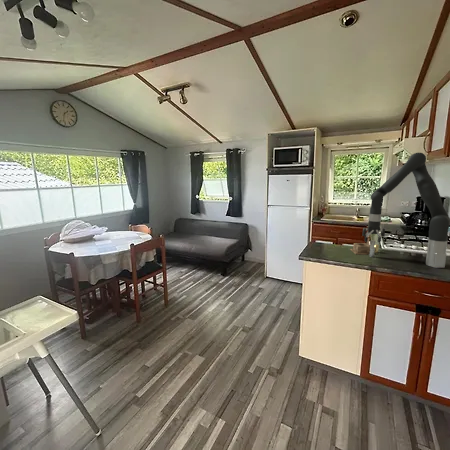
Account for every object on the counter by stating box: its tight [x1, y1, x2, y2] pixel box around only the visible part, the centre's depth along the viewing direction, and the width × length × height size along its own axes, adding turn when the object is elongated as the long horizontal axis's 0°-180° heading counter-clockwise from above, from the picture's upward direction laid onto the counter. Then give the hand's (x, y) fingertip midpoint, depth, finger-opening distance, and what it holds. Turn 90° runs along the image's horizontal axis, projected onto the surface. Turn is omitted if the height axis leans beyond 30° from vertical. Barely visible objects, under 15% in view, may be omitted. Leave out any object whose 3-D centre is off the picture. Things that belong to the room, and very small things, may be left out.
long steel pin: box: [368, 239, 376, 258], centre depth 183 cm, size 3×3×12 cm
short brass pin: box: [374, 243, 380, 254], centre depth 193 cm, size 3×3×6 cm
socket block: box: [350, 242, 370, 256], centre depth 195 cm, size 12×12×6 cm
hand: (372, 242), depth 183 cm, fingers open, 8 cm apart
